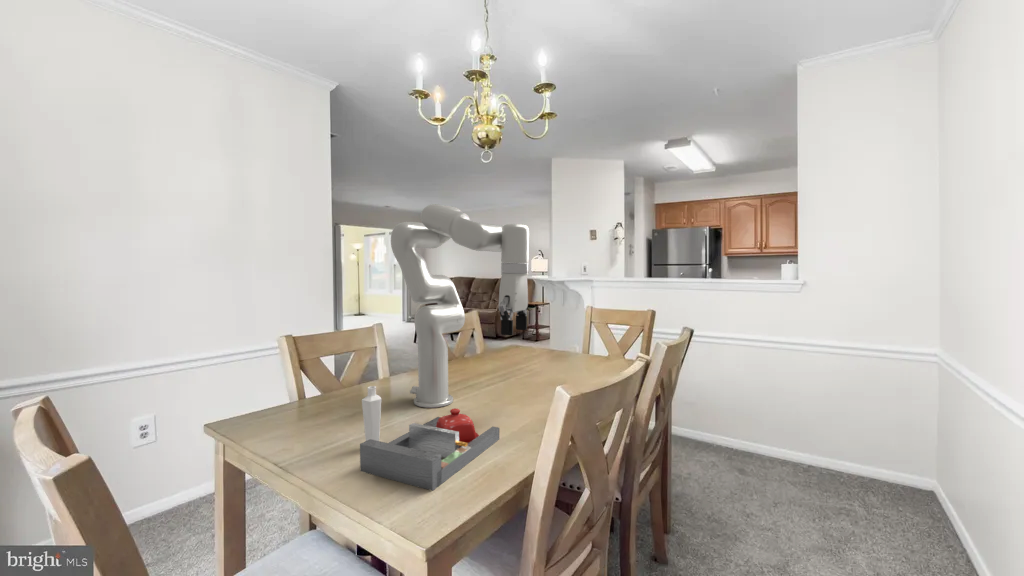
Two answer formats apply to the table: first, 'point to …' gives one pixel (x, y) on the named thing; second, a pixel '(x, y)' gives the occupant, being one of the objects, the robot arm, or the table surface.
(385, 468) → the grey open box
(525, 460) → the table surface
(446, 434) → the brushed metal plate
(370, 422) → the perfume bottle
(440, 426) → the butter dish
